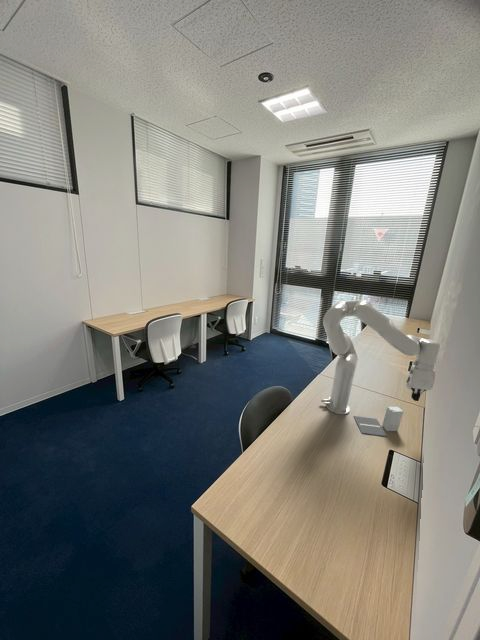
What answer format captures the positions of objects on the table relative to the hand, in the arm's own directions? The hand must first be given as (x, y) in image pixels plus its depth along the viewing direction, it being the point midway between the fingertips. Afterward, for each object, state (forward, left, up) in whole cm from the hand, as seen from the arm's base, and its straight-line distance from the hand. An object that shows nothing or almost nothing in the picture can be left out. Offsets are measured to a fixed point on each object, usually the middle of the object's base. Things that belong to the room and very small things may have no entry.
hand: (414, 399), depth 127 cm
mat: (-17, 0, -19) cm, 26 cm away
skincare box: (-7, 0, -19) cm, 20 cm away
